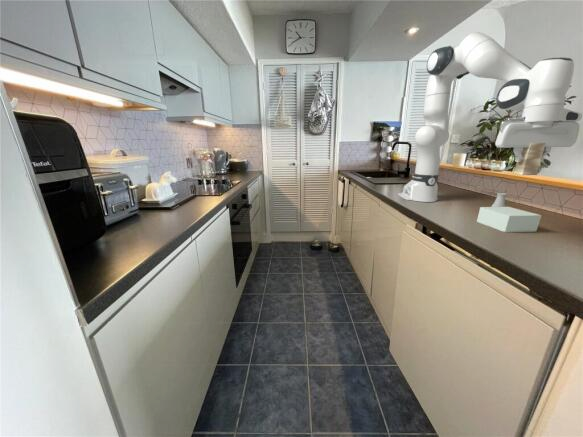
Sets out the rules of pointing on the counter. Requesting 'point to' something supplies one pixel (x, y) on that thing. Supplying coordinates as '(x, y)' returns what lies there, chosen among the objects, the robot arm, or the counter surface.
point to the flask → (499, 200)
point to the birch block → (530, 159)
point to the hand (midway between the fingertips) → (528, 161)
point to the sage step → (509, 219)
